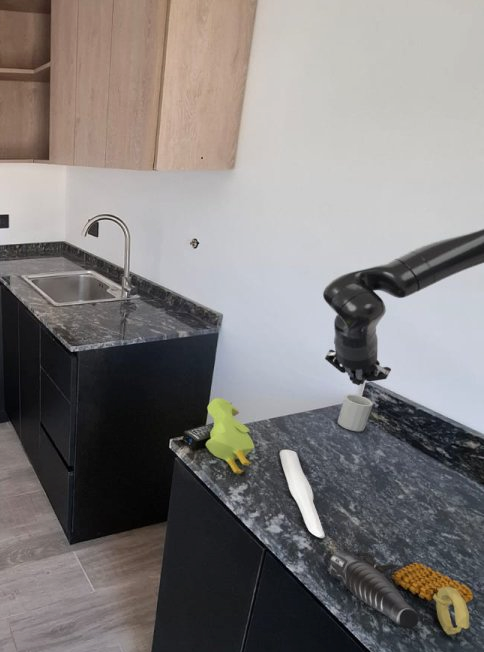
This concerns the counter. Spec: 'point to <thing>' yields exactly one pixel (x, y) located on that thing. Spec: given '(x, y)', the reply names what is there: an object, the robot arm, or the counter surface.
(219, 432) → the toy
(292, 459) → the white long flat piece
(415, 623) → the ribbed torch
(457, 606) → the ornament
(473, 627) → the counter surface
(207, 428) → the multiport hub
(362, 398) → the pot
